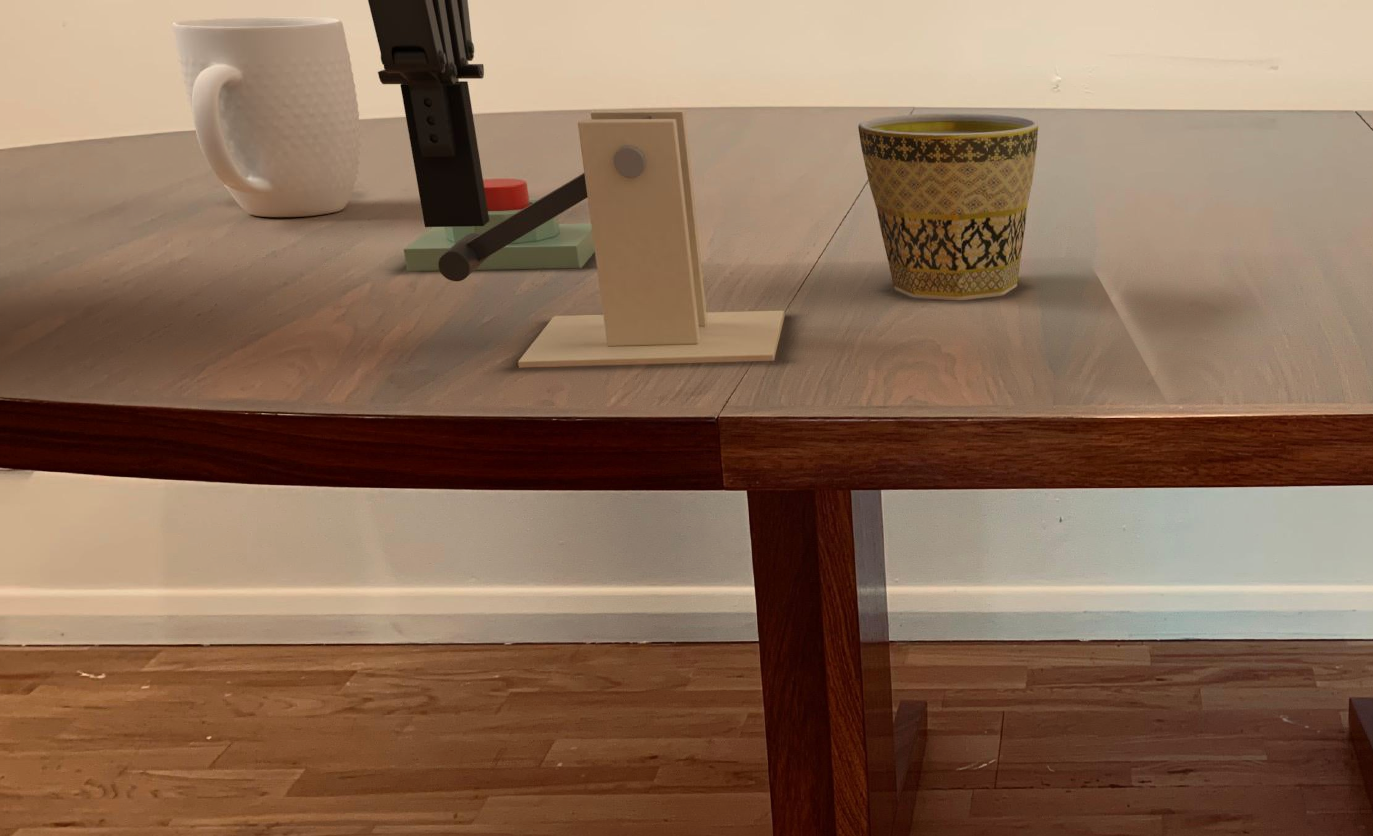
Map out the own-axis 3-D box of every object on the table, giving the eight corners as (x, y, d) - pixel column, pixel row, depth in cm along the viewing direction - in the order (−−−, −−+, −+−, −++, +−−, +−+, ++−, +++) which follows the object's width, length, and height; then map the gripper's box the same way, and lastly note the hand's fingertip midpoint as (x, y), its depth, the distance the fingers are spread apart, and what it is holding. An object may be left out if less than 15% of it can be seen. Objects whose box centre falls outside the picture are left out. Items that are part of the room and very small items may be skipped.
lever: (457, 295, 84) (424, 251, 83) (479, 275, 88) (448, 233, 87) (670, 169, 83) (640, 123, 82) (681, 155, 87) (653, 111, 86)
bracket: (521, 386, 83) (481, 129, 78) (556, 338, 92) (523, 105, 87) (775, 378, 85) (752, 126, 80) (786, 332, 94) (766, 103, 89)
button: (463, 217, 105) (458, 187, 104) (475, 207, 108) (471, 179, 108) (524, 216, 106) (520, 187, 105) (535, 207, 109) (531, 178, 108)
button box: (409, 286, 104) (397, 217, 103) (440, 260, 111) (429, 196, 110) (581, 282, 106) (572, 215, 104) (601, 257, 113) (592, 194, 111)
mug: (306, 234, 120) (265, 31, 114) (151, 232, 120) (102, 29, 114) (403, 200, 133) (370, 17, 127) (262, 198, 133) (224, 15, 128)
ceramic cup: (1011, 326, 96) (1005, 137, 92) (842, 315, 98) (829, 130, 94) (1077, 281, 107) (1074, 111, 103) (925, 272, 109) (916, 105, 105)
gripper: (419, -355, 69) (511, 247, 79) (487, -319, 81) (559, 201, 91) (219, -361, 68) (338, 250, 78) (317, -324, 80) (409, 204, 90)
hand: (457, 223), depth 85 cm, fingers closed
